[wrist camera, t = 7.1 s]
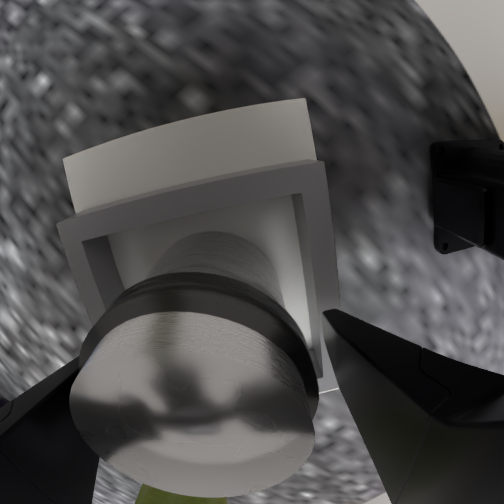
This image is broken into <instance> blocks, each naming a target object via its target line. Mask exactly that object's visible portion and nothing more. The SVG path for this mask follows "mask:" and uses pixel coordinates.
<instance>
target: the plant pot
mask: <svg viewBox="0 0 504 504" xmlns="http://www.w3.org/2000/svg"><path fill="white" fill-rule="evenodd" d="M135 504H227V499H226V497H220V498H206V497H194V496H186V495H180V494H176V493H171V492H167V491H163V490H160V489H157V488H154V487H151V486H148V485H146V484H142V487H141V489H140V492H139V494H138V497H137V499H136V502H135Z"/></svg>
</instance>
